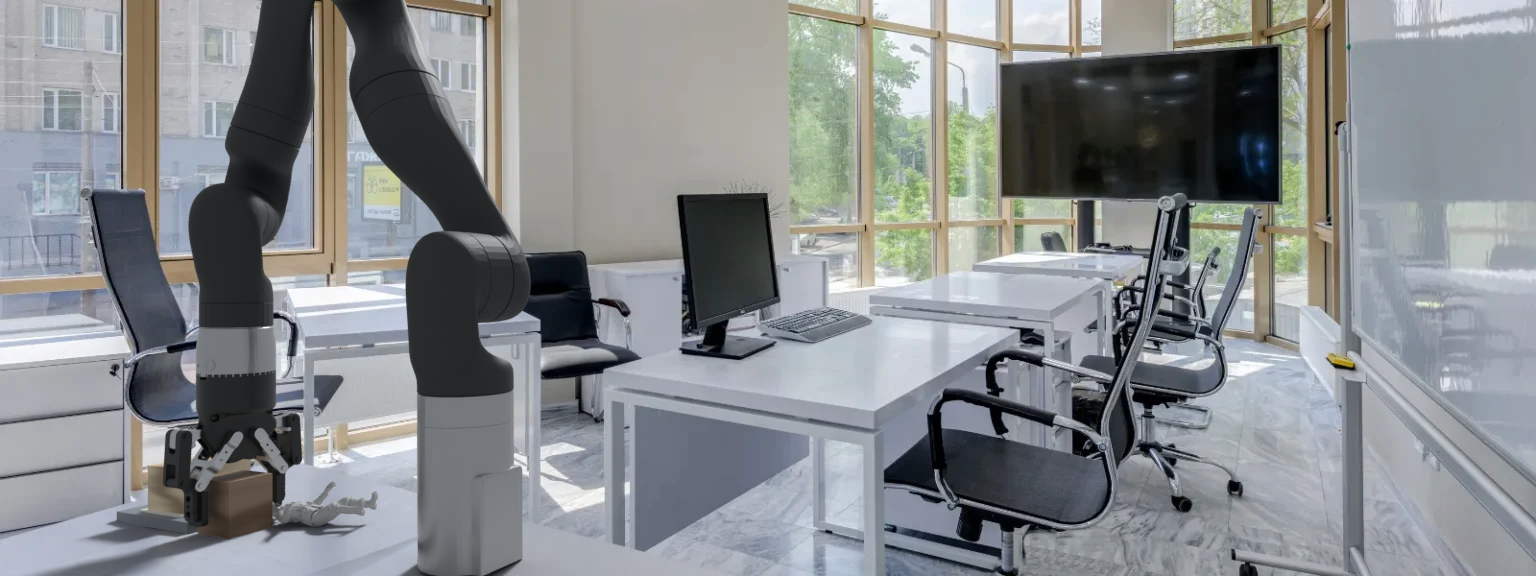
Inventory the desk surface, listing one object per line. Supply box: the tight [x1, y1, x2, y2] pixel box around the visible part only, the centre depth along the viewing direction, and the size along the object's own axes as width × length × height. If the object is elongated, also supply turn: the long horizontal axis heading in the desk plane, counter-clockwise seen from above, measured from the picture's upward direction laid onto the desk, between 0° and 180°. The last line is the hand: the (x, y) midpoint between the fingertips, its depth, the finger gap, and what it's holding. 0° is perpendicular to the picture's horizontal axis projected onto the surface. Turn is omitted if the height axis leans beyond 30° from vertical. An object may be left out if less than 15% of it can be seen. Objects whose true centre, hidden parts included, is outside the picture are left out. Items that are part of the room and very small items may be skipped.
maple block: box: [147, 455, 252, 514], centre depth 102 cm, size 6×8×5 cm
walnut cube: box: [197, 470, 274, 540], centre depth 96 cm, size 5×5×6 cm
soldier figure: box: [272, 481, 379, 528], centre depth 98 cm, size 8×5×12 cm
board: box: [116, 504, 198, 535], centre depth 102 cm, size 12×11×1 cm
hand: (236, 515), depth 96 cm, fingers open, 8 cm apart
